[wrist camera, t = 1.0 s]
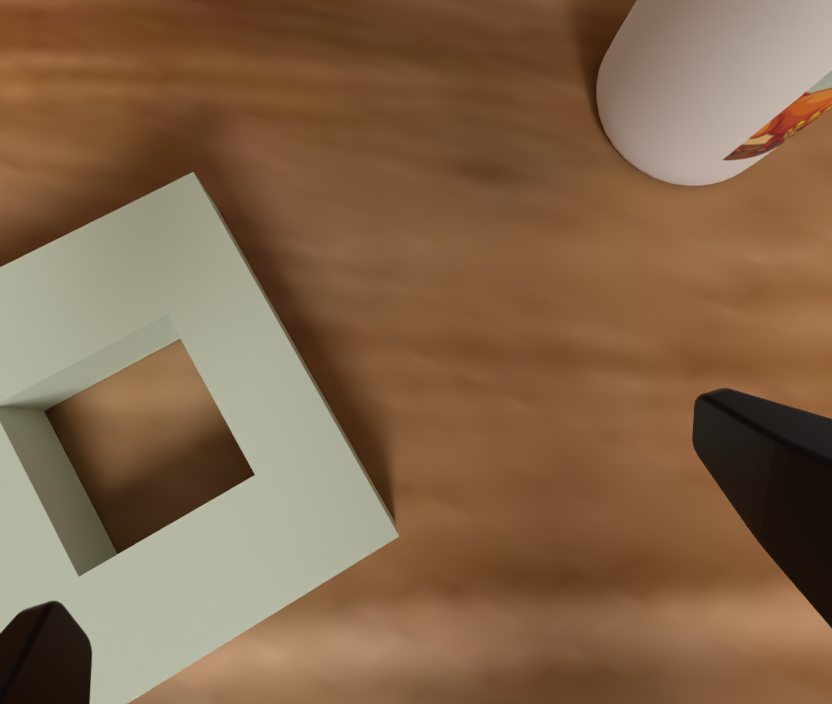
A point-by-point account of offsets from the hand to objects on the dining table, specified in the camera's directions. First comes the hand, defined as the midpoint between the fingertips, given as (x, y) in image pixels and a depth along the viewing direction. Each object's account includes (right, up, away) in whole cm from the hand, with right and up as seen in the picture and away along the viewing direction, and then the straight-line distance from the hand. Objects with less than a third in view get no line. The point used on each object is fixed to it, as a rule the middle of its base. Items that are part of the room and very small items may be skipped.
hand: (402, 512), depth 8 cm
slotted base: (-9, -1, +14) cm, 17 cm away
